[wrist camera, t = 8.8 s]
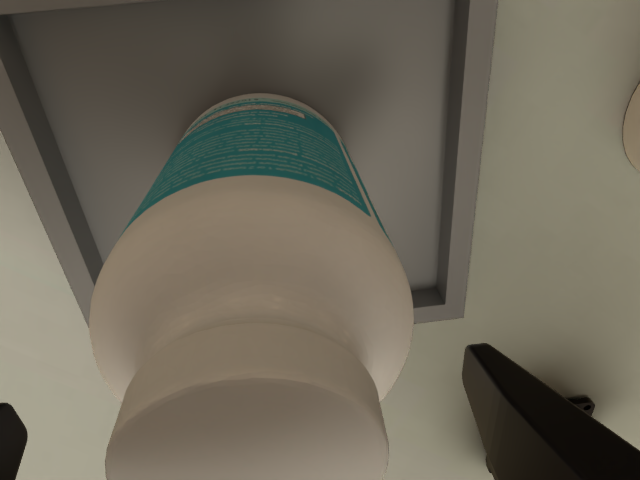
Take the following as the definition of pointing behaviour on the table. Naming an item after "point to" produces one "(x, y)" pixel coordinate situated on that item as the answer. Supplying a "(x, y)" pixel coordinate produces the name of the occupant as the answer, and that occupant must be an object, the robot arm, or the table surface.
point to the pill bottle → (252, 308)
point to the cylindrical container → (633, 130)
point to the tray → (247, 78)
